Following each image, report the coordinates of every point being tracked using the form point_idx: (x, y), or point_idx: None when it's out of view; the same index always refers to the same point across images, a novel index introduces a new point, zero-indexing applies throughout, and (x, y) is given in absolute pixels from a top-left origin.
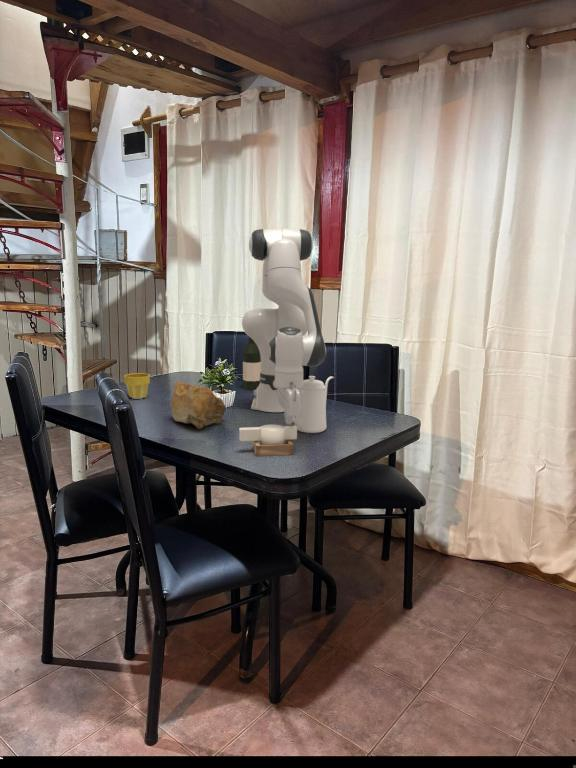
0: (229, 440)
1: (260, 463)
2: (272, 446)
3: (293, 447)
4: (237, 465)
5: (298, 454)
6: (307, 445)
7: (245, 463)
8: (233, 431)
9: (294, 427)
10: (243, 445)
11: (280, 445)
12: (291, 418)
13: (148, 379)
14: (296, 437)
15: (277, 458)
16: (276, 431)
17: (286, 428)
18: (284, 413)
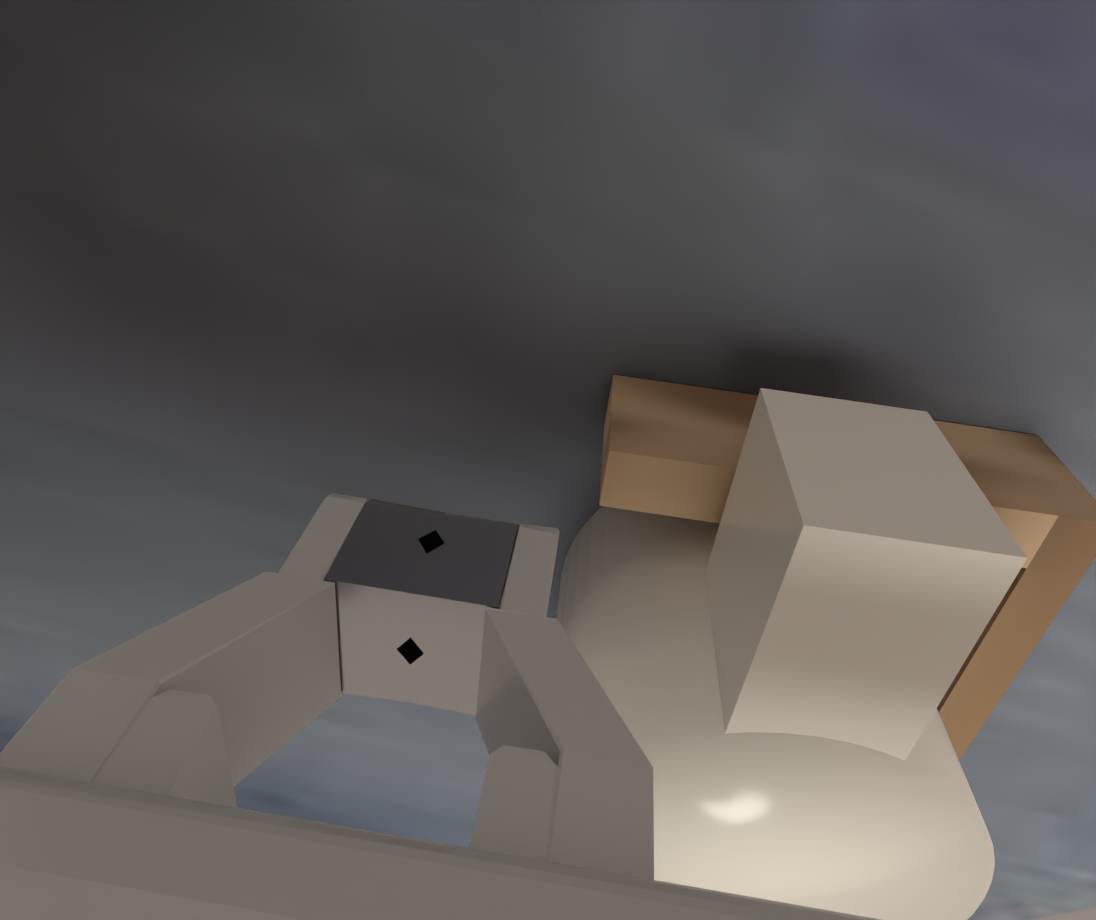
0: (307, 809)
1: (1086, 791)
2: (960, 744)
3: (1090, 497)
4: (1009, 913)
5: (1077, 368)
6: (712, 46)
7: (1001, 868)
8: (3, 724)
9: (938, 591)
10: (482, 765)
11: (1012, 678)
12: (564, 645)
13: None
14: (933, 435)
15: (1051, 635)
16: (986, 887)
17: (918, 736)
18: (238, 761)
